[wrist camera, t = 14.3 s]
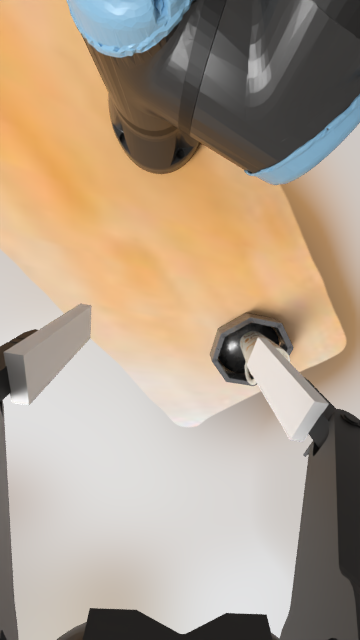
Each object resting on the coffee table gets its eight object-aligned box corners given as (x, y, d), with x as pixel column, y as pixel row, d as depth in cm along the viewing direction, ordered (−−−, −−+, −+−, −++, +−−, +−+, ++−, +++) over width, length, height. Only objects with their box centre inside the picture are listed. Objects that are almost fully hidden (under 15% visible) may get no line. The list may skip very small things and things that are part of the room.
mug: (272, 328, 46) (296, 349, 37) (257, 370, 51) (275, 398, 41) (239, 324, 45) (255, 345, 36) (227, 367, 50) (239, 395, 41)
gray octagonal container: (224, 308, 44) (227, 312, 41) (295, 322, 46) (303, 327, 43) (204, 371, 51) (206, 378, 48) (267, 381, 53) (272, 389, 50)
